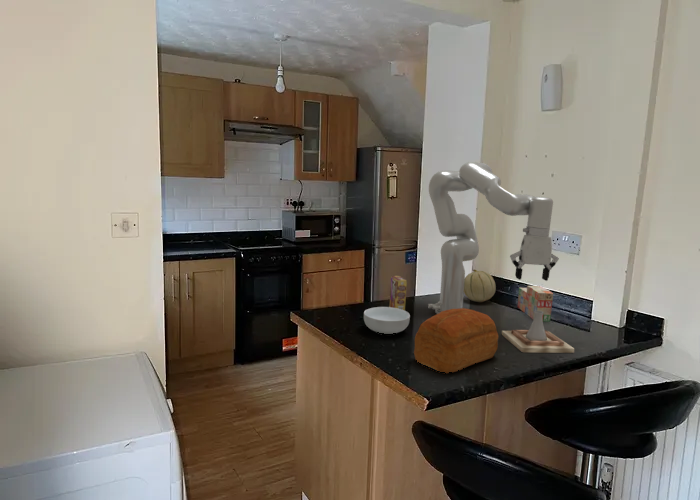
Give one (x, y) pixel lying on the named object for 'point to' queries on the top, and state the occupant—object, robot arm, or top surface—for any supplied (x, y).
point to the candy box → (398, 292)
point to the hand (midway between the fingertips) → (531, 279)
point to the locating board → (537, 342)
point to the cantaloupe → (479, 286)
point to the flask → (537, 328)
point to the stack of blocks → (535, 301)
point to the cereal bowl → (386, 319)
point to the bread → (455, 340)
